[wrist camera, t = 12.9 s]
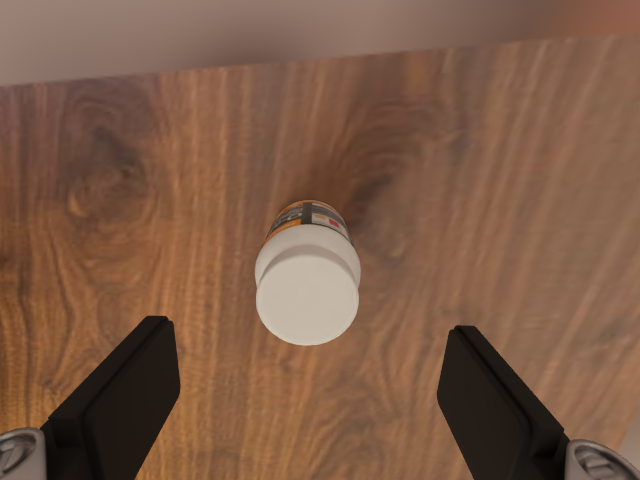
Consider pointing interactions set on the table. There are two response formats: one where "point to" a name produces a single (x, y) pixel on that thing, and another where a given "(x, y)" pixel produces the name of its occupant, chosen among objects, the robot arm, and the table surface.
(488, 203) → the table surface
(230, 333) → the table surface
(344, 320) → the pill bottle
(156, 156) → the table surface
